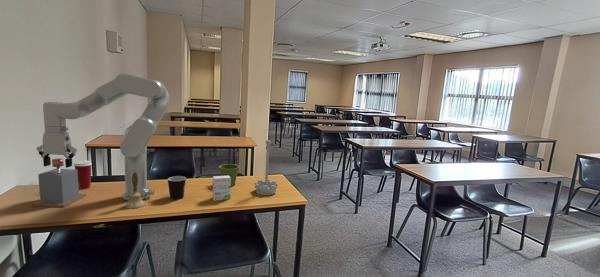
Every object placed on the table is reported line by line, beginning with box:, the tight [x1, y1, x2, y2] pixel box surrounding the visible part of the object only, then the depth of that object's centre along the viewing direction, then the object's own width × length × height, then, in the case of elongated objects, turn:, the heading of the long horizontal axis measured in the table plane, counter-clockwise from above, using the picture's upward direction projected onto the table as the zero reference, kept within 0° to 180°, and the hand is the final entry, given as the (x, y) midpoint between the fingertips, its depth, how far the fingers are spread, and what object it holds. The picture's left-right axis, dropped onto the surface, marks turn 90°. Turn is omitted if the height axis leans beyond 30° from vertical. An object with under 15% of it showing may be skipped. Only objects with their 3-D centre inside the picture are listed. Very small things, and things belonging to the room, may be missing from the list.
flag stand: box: [254, 139, 279, 196], centre depth 167 cm, size 13×13×30 cm
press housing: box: [31, 168, 87, 208], centre depth 138 cm, size 14×14×14 cm
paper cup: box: [73, 160, 93, 190], centre depth 157 cm, size 8×8×14 cm
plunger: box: [51, 158, 65, 173], centre depth 138 cm, size 7×7×18 cm
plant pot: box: [218, 163, 240, 187], centre depth 177 cm, size 12×12×11 cm
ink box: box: [212, 175, 232, 202], centre depth 154 cm, size 9×5×12 cm, turn 113°
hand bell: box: [124, 172, 146, 210], centre depth 138 cm, size 8×8×16 cm
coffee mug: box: [167, 175, 187, 201], centre depth 153 cm, size 12×9×10 cm
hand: (58, 166), depth 137 cm, fingers open, 9 cm apart
